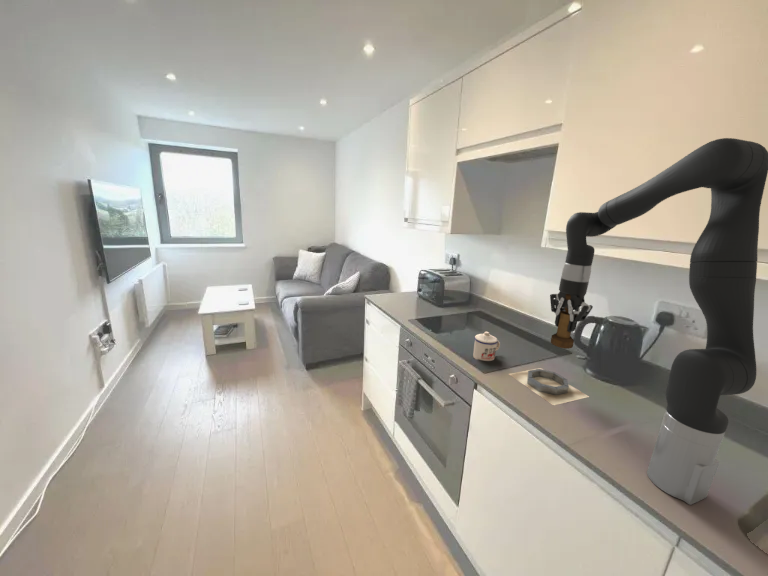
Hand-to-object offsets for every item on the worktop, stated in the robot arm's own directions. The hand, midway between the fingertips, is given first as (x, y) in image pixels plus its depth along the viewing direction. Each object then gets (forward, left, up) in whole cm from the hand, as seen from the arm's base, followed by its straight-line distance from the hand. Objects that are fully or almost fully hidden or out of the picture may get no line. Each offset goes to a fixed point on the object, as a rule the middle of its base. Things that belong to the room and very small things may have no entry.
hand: (564, 328), depth 100 cm
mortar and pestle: (0, 0, -6) cm, 6 cm away
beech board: (+3, 0, -23) cm, 23 cm away
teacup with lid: (+28, +6, -23) cm, 37 cm away
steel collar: (+3, 0, -22) cm, 22 cm away
